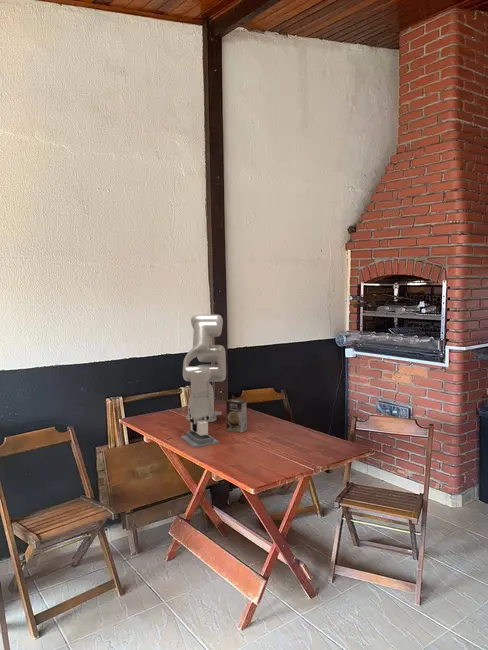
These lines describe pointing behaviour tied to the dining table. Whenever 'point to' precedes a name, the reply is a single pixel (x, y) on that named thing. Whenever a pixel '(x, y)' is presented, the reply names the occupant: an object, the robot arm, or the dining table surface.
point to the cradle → (198, 439)
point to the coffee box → (236, 415)
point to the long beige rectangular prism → (201, 427)
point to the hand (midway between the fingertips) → (199, 430)
